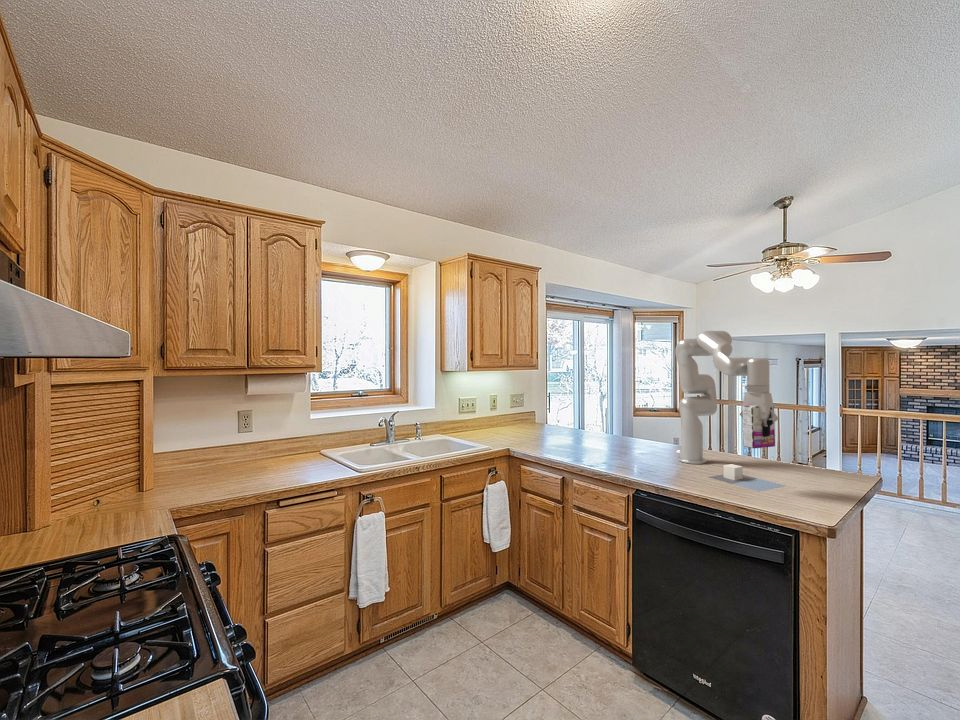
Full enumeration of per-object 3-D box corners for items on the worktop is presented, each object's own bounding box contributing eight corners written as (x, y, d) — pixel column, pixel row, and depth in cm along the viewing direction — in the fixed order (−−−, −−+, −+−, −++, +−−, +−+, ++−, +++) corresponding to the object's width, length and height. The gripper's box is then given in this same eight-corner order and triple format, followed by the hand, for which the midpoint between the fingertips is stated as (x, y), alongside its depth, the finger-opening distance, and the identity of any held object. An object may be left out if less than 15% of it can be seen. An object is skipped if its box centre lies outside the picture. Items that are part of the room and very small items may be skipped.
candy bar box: (764, 444, 182) (764, 403, 182) (775, 446, 178) (775, 405, 177) (742, 446, 179) (741, 405, 179) (752, 448, 175) (752, 406, 174)
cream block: (723, 477, 190) (723, 465, 190) (731, 475, 192) (731, 464, 192) (734, 480, 185) (734, 468, 185) (742, 478, 188) (742, 466, 187)
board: (708, 479, 190) (708, 477, 190) (733, 474, 197) (733, 472, 197) (759, 493, 170) (759, 491, 170) (785, 487, 177) (785, 485, 177)
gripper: (731, 388, 184) (732, 432, 185) (774, 391, 169) (774, 439, 169) (744, 387, 188) (744, 431, 188) (786, 390, 172) (786, 437, 172)
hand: (758, 434), depth 178 cm, fingers closed on candy bar box, 5 cm apart
